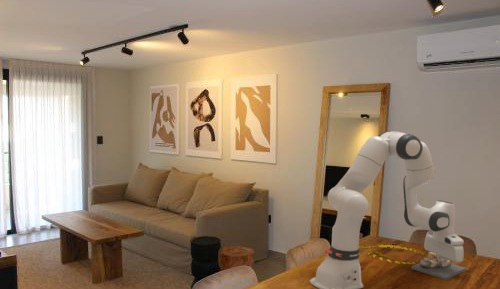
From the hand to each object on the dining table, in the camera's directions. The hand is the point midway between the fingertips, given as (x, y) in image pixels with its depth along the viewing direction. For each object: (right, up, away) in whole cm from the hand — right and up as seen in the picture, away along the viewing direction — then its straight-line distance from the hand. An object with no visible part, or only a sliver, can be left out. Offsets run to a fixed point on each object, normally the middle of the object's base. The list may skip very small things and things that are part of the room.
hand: (441, 265), depth 179 cm
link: (-2, -1, +3) cm, 3 cm away
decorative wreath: (-15, -2, +25) cm, 29 cm away
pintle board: (-1, -2, +1) cm, 3 cm away
